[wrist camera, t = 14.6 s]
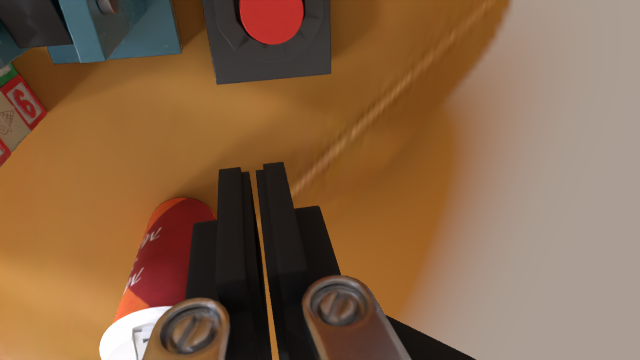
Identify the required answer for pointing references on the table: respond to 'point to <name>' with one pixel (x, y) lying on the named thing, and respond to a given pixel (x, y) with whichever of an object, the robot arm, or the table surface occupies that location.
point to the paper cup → (154, 277)
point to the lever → (35, 23)
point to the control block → (267, 45)
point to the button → (271, 19)
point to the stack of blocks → (16, 111)
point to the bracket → (108, 31)
